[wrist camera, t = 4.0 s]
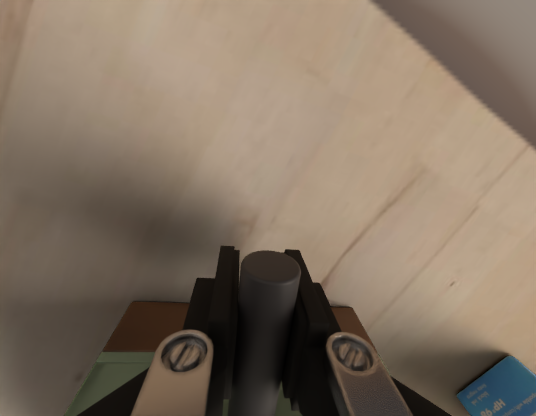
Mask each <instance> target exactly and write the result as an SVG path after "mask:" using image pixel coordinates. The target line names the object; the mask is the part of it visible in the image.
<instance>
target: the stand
mask: <svg viewBox="0 0 536 416" xmlns="http://www.w3.org/2000/svg"><path fill="white" fill-rule="evenodd" d="M189 304H190V303H168V302H131V304H130V305H129V307H128V309H127V310H126V312H125V314H124V315H123V317H122V319H121V321H120V322H119V324H118V326H117V327H116V329H115V331H114V332H113V334H112V336H111V337H110V339H109V341H108V342H107V344H106V346H105V347H104V349H103V352H156V350H157V348H158V346H159V345H160V343H161V342H162V341H163V340H164V339H165V338H166V337H168V336H170V335H171V334H173V333H175V332H178V331H182V329H183V325H184V322H185V318H186V315H187V311H188V307H189ZM331 309H332V311H333V313H334V315H335V317H336V320H337V322H338V324H339V326H340V328H341V331H342V332H347V333H352V334H355V335H357V336H359V337H361V338H363V339H364V340H366V341H367V342H368V343H369V344H370V345H371V346H372V347H373V348H374V350H375V351H376V349H375V347H374V345H373V343H372V342H371V340H370V338H369V336H368V335H367V333H366V331H365V329H364V328H363V326H362V324H361V322H360V320H359V319H358V317H357V315H356V313H355V312H354V310H353V308H344V307H331ZM376 353H377V351H376Z"/></svg>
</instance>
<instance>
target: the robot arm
mask: <svg viewBox="0 0 536 416" xmlns="http://www.w3.org/2000/svg"><path fill="white" fill-rule="evenodd" d="M239 252H240V250H234V246H221V247H220V253H219V259H218V265H217V271H216V277H215V279H214V278H197V279H196V283H195V286H194V290H193V293H192V297H191V300H190V304H189V307H188V311H187V315H186V318H185V322H184V325H183V329H182V331H178V332H175V333H173V334H171V335H170V336H168V337H166V338H165V339H164V340H163V341H162V342H161V343H160V345H159V346H158V348H157V350H156V352H155V354H154V357H153V360H152V362H151V365H150V367H149V368H147V369H146V370H144V371H143V372H141V373H140V374H138V375H137V376H135V377H134V378H132V379H131V380H129V381H128V382H126V383H125V384H123V385H122V386H120V387H119V388H117V389H116V390H114V391H113V392H111V393H110V394H108V395H107V396H105V397H104V398H102V399H101V400H99V401H98V402H96V403H95V404H93V405H92V406H90V407H89V408H87V409H86V410H84V411H83V412H81V413H80V414H78V415H77V416H222V414H223V401H224V399H231V389H232V378H233V368H234V357H235V346H236V336H237V323H238V292H239ZM283 254H286V255H288V256H290V257H291V258H293V259H294V260H295V261H296V262H297V263H298V264H299V266H300V270H301V275H300V281H299V286H298V292H297V297H296V303H295V308H294V314H293V319H292V324H291V330H290V335H289V341H288V346H287V352H286V357H285V363H284V368H283V374H282V379H281V381H282V388H283V394H284V398H290V404H291V410H292V411H300V414H302V415H303V416H451V415H450V414H448V413H447V412H445V411H444V410H442V409H441V408H439V407H438V406H436V405H434V404H433V403H431V402H430V401H428V400H427V399H425V398H424V397H422V396H421V395H419V394H417V393H416V392H414V391H413V390H411V389H410V388H408V387H407V386H405V385H404V384H402V383H400V382H399V381H397V380H396V379H394V378H393V377H391V376H390V375H389V373H388V371H387V370H386V368H385V366H384V365H383V363H382V361H381V359H380V358H379V356H378V354H377V353H376V351H375V350H374V348H373V347H372V346H371V345H370V344H369V343H368V342H367V341H366V340H364V339H363V338H361V337H359V336H357V335H355V334H352V333H347V332H342V331H341V328H340V326H339V324H338V322H337V320H336V317H335V315H334V313H333V311H332V309H331V306H330V304H329V302H328V300H327V298H326V295H325V293H324V291H323V289H322V287H321V285H320V284H319V283H313V282H312V279H311V277H310V275H309V272H308V270H307V267H306V265H305V263H304V260H303V258H302V255H301V253H300V251H299V250H289V249H286V250H285V252H284V253H283Z"/></svg>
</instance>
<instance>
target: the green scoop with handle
mask: <svg viewBox="0 0 536 416" xmlns="http://www.w3.org/2000/svg"><path fill="white" fill-rule="evenodd" d="M300 275H301V270H300V266H299V264H298V263H297V262H296V261H295V260H294V259H293V258H291V257H290V256H288V255H286V254H283V253H280V252H275V251H257V252H253V253H250V254H249V255H247V256H246V257H245V258H244V259H243V261H242V263H241V270H240V281H239V292H238V323H237V336H236V346H235V357H234V368H233V378H232V389H231V399H224V401H223V414H222V416H303V415H302V414H300V411H292V410H291V404H290V398H284V394H283V388H282V381H281V379H282V374H283V368H284V363H285V357H286V352H287V346H288V341H289V335H290V330H291V324H292V319H293V314H294V308H295V303H296V297H297V292H298V286H299V281H300ZM154 354H155V352H102V353H101V354H100V356H99V357H98V359H97V361H96V363H95V364H94V366H93V367H92V369H91V371H90V372H89V374H88V376H87V377H86V379H85V381H84V382H83V384H82V386H81V388H80V389H79V391H78V393H77V394H76V396H75V398H74V399H73V401H72V403H71V404H70V406H69V408H68V409H67V411H66V413H65V414H64V416H77V415H78V414H80V413H81V412H83V411H84V410H86V409H87V408H89V407H90V406H92V405H93V404H95V403H96V402H98V401H99V400H101V399H102V398H104V397H105V396H107V395H108V394H110V393H111V392H113V391H114V390H116V389H117V388H119V387H120V386H122V385H123V384H125V383H126V382H128V381H129V380H131V379H132V378H134V377H135V376H137V375H138V374H140V373H141V372H143V371H144V370H146V369H147V368H149V367H150V365H151V362H152V360H153V357H154ZM377 354H378V353H377ZM378 356H379V354H378ZM379 358H380V359H381V357H380V356H379ZM381 361H382V359H381ZM382 363H383V361H382ZM383 365H384V366H385V364H384V363H383ZM385 368H386V366H385ZM386 370H387V368H386ZM387 371H388V370H387ZM388 373H389V372H388ZM389 375H390V373H389ZM390 376H391V375H390Z"/></svg>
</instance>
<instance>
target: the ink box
mask: <svg viewBox="0 0 536 416" xmlns="http://www.w3.org/2000/svg"><path fill="white" fill-rule="evenodd" d="M457 398H458V399H459V400H460V402H461V403H462V404H463V406H464V407H465V409H466V410H467V411H468V413H469V414H470V415H471V416H536V375H535V374H534V373H533V372H531V371H530V370H529V369H528V368H527V367H525V366H524V365H523V364H522V363H521V362H519V361H518V360H517V359H516V358H515V357H513V356H507V357H506V358H504V359H503V360H502V361H500V362H499V363H498V364H496V365H495V366H494V367H493V368H491V369H490V370H489V371H487V372H486V373H485V374H483V375H482V376H481V377H479V378H478V379H477V380H475V381H474V382H473V383H471V384H470V385H469V386H468V387H466V388H465V389H464V390H462V391H461V392H459V393H458V394H457Z"/></svg>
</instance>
